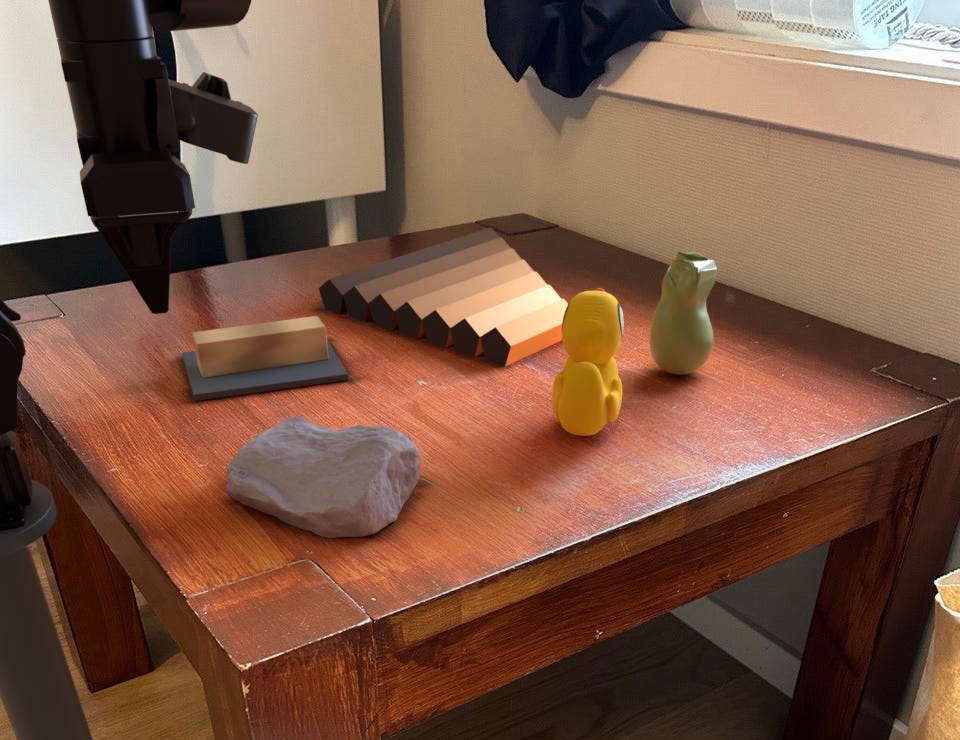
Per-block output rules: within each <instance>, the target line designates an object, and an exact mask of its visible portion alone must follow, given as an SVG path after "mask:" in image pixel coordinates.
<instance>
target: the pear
mask: <svg viewBox="0 0 960 740" xmlns="http://www.w3.org/2000/svg"><path fill="white" fill-rule="evenodd" d="M717 272H718V268H717V264H716V262H715V260H713V259H709V258H708V257H706V256H704V255H703V254H701V253H699V252H682V251H677V254H676V257H675V259H673V260H672V264H671V265H669V267H667V269H666V271H665V274H664V275H663V279H662V283H661V296H660V299H659V301H658V303H657V304H656V307H655V309H654V312H653V316H652V320H651V325H650V331H649V350H650V355H651V358H652V360H653V361H654V363H655V365H656V366H657V367H659V368H660V369H661V370H663V371H664V372H666V373H669V374H673V375H680V376H681V375H688V374H691V373H695V372H697V371H698V370H700V369H701V368H703V366H704V365H705V364H707V362H708V360H709V359H710V357H711V355H712V352H713V349H714V343H715V338H714V332H713V331H714V330H713V326H712V323H711V320H710V316H709V313H708V311H707V310H708V309H707V298H708V297H709V294H710V292H711V290H712V289H713V287H714V285H715V283H716V280H717Z"/></svg>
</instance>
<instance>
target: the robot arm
mask: <svg viewBox="0 0 960 740" xmlns="http://www.w3.org/2000/svg"><path fill="white" fill-rule="evenodd" d="M47 2H48V5H49V10H50V14H51V19H52V23H53V28H54V33H55V37H56V42H57V46H58V51H59V55H60V64H61V69H62V74H63V78H64V82H65V84H66V87H67V93H68V97H69V101H70V106H71V111H72V115H73V120H74V125H75V128H76V132H75V133H76V143H77V146H78V150H79V151H78V152H79V155H80V160H81V164H82V167H81V169H80V170H79V178H80V186H81V190H82V196H83V199H84V200H83V201H84V204H85V207H86V208H85V209H86V212H87V216H88V217H90V221H91V223H92V225H93V226H94V227H95V228H96V229H97V231H98V232H99V234H100V236H101V238H102V239H103V240H104V242H105V243H106V245H107V246H108V247H109V249H110V252H112V254H113V255H114V257H115V258H116V260H117V261H118V263H119V264H120V266H121V268H122V269H123V271H124V272H125V274H126V275H127V277H128V278H129V280H130V281H131V284H133V286H134V288H135V289H136V291H137V293H138V294H139V296H140V297H141V299H142V301H143V302H144V303H145V306H147V308H148V310H149V311H150V313H151V314H153V315H160V314H166V313H168V312H169V310H170V283H171V281H170V280H171V279H170V278H171V253H172V239H173V235H174V234H175V233H176V232H177V231H178V229H179V228H180V227H181V226H182V225H183V224H184V222H185V221H188V220H189V219H191V216H192V214H193V209H196V204H195V199H194V192H193V185H192V179H191V174H190V172H189V171H188V169H187V167H186V165H185V164H184V163H183V162H182V161H181V160H180V159H178V157H176V156H175V155H174V154H173V153H175V152H181V145H180V141H181V142H183V143H186V144H188V145H190V146H191V145H192V146H195V147H197V148H198V147H199V148H201V149H204V150H208V151H211V152H214V153H217V154H221V155H223V156H226V157H227V159H228V160H230V161H232V162H235V163H239V164H243V165H248V164H249V162H250V157H251V153H252V146H253V142H254V138H255V137H254V136H255V132H256V127H257V123H258V118H259V114H258V113H257V111H255V110H254V109H253V108H252V107H251V106H249V105H248V104H245V103H243V102H242V101H240V100H234V99H232V97H231V92H230V88H229V85H228V82H227V81H226V80H225V79H224V78H222V77H218V76H216V75H213V74H210V73H208V72H204V71H203V72H202V73H201V74H200V75H199V77H198V78H197V79H196V80H195V82H194V83H193V84H192V85H189V83H186V82H179V81H177V80H176V81H175V80H173V79H169V75H168V69H167V65H166V63H165V62H163V61H162V58H161V56H158V54H157V48H156V41H155V36H154V30H153V28H154V29H156V30H159V31H161V32H165V33H166V32H167V33H169V32H179V31H188V30H189V31H190V30H199V29H200V30H201V29H211V28H221V27H231V26H234V25H238V24H239V23H240V22H242V21H243V20H244V19H245V18H246V16H247V14H248V13H249V10H250V7H251V4H252V0H48V1H47ZM21 319H22V316H21V314H20V313H18V312H17V311H15V310H14V309H12V308H10V307H9V306H8V305H7V303H6V302H5V301H4V300H3V299H2V298H1V297H0V531H3V530H9V529H15V528H20V527H22V526H24V525H25V524H26V510H27V506H28V505H30V503H31V502H32V482H31V480H32V479H31V476H30V473H29V470H28V467H27V464H26V461H25V457H24V454H23V451H22V448H21V444H20V441H19V437H18V435H17V432H15V431H14V430H15V429H16V428H17V416H18V415H17V413H18V412H17V411H18V390H19V389H18V388H19V387H18V386H19V384H18V383H19V378H20V376H21V373H22V371H23V365H24V364H23V363H24V357H25V356H26V355H27V350H26V345H25V341H24V340H23V338H22V336H21V334H20V332H19V330H18V328H17V327H16V326H15V325H14V323H13V322H18V321H20V320H21Z"/></svg>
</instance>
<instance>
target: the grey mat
mask: <svg viewBox="0 0 960 740" xmlns="http://www.w3.org/2000/svg"><path fill="white" fill-rule="evenodd" d="M327 347H328V357H329V359H328V360H321V361H314V362H308V363H301V364H294V365H287V366H280V367H273V368H267V369H260V370H253V371H246V372H239V373H232V374H226V375H219V376H212V377H205V378H203V377H202V374H201V372H200V370H199V367H198V364H197V359H196V353H195V350H192V351H191V350H190V351H183V352H182V359H183V362H184V367H185V370H186V373H187V378H188V381H189V385H190V389H191V392H192V397H193V399H194V401H195V402H199V401H204V400H212V399H221V398H228V397H234V396H242V395H249V394H257V393H263V392H272V391H279V390H284V389H285V390H286V389H292V388H293V389H294V388H301V387H307V386H312V385H313V386H314V385H321V384H329V383H337V382H344V381H345V382H346V381H349V379H350V378H349V373H348V371H347V370H346V368H345V367H344V365H343V363H342V362H341V360H340V358H339V357H338V355H337V353H336V352H335V350H334V348H333V347H332V345H331V344H330V342H329V341H328V339H327Z"/></svg>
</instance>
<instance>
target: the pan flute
mask: <svg viewBox="0 0 960 740" xmlns="http://www.w3.org/2000/svg"><path fill="white" fill-rule="evenodd" d="M318 291H319V295H320V298H321V303H322V304H323V308H324V311H328V312H332V313H334V314H336V315H343V314H346V313H347V315H348V318H350V319H353V320H357V321H360V322H362V323H367V322H370V321H372V324H373V326H375V327H378V328H382V329H385V330H387V331H393V330H396V329H398V330H399V334H401V335H404V336H407V337H410V338H413V339H417V340H418V339H421V338H423V337H425V338H426V341H427V343H429V344H432V345H436V346H439V347H442V348H448V347H450V346H453V345H454V350H455V352H458V353H461V354H464V355H468V356H471V357H474V358H476V357H478V356H480V355H482V354H483V355H484V359H485V361H487V362H490V363H493V364H496V365H499V366H502V367H507V366H509V365H511V364H514V363H515V362H518V361H520V360H522V359H524V358H526V357H528V356H531V355H533V354H536V353H537V352H540V351H541V350H544V349H547V348H548V347H550V346H552V345H554V344H557V343H559V342H562V321H563V316H564V313H565V310H566V307H567V305H568V304H569V302H567V301H566V300H565V298H561V297H560V296H559V294H558V293H557V291H556V290H555V289H554V288H553V287H552V285H550V284H547V282H546V281H545V280H544V278H542V276H541V275H540V274H539V273H538V271H535V270H534V269H533V268H532V267H531V266H530V265H529V264H528V263H527V261H526V260H525V259H524V258H521V256H520V255H519V253H517V252H516V250H515V249H514V248H513V247H511V246H509V244H508V243H507V242H506V241H505V239H504V238H503V237H501V236H499V235H498V233H497V232H496V231H495V230H494V228H493V227H491V226H490V227H488V228H485V229H481V230H479V231H478V230H477V231H475V232H472V233H468V234H466V235H462V236H460V237H456V238H453V239H450V240H447V241H444V242H441V243H438V244H437V243H436V244H435V245H432V246H427V247H425V248H422V249H419V250H416V251H412V252H409V253H406V254H403V255H400V256H397V257H393V258H391V259H387V260H385V261H381V262H378V263H375V264H371V265H369V266H365V267H362V268H359V269H356V270H353V271H350V272H347V273H344V274H340V275H337V276H334V277H331V278H328V280H326V281H325V282H324V283H322V285H320V287H318Z"/></svg>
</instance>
